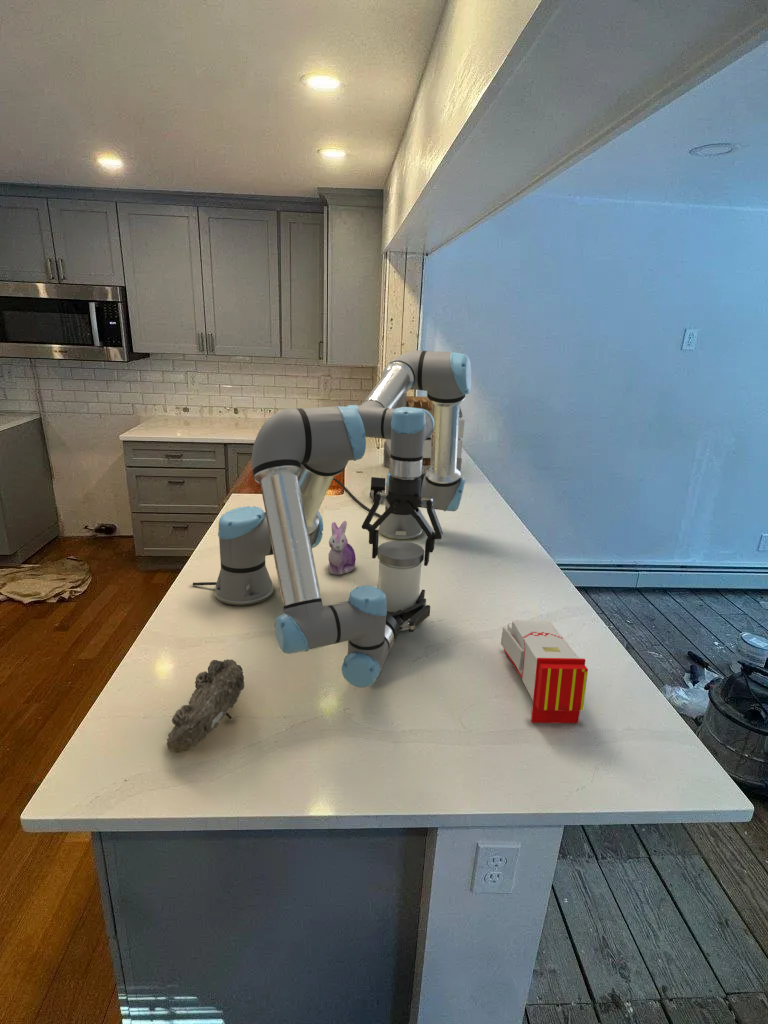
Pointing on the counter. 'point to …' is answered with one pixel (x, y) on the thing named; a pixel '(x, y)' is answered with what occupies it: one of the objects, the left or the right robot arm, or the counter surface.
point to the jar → (399, 586)
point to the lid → (400, 553)
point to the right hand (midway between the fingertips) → (400, 559)
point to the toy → (547, 670)
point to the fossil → (206, 705)
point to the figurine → (340, 551)
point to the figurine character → (377, 486)
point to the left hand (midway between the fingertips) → (402, 590)
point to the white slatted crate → (427, 405)
